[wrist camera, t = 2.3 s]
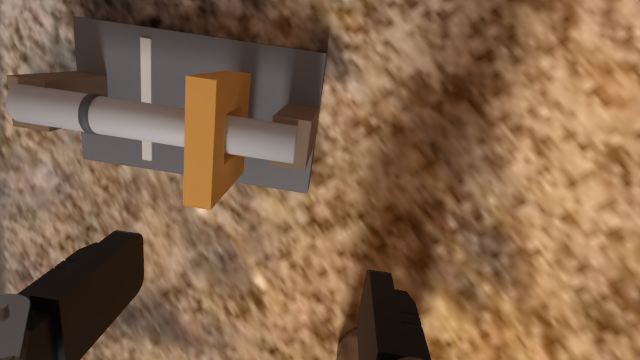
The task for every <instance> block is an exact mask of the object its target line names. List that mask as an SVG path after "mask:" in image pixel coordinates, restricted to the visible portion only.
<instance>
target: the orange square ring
mask: <svg viewBox="0 0 640 360" xmlns="http://www.w3.org/2000/svg"><path fill="white" fill-rule="evenodd" d="M250 82H251V73H244V72H237V71H231V70H226V71H218V72H210V73H203V74H195V75H187V76H186V83H185V132H184V180H183V206H189V207H196V208H202V209H208V210H211V209H212V208H213V207H214V205H215V204H216V203H217V202H218V201H219V200H220V199H221V197H222V196H223V195H224V194H225V193H226V192H227V191H228V189H229V188H230V187H231V186H232V185H233V184H234V183H235V181H236V180H237V179H238V178H239V177H240V176H241V175H242V173H243V172H244V161H245V156H239V155H233V154H226V153H224V149H225V131H226V115H231V116H238V117H244V118H248V108H249V95H250Z"/></svg>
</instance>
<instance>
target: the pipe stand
mask: <svg viewBox="0 0 640 360" xmlns="http://www.w3.org/2000/svg"><path fill="white" fill-rule="evenodd" d="M73 21H74V35H75V49H76V63H77V71H72V72H55V73H39V74H22V75H7V81H8V89H9V92H8V94H7V97H6V108H7V111H8V113H9V115H10V116H11V117H12V120H13V126H17V127H23V128H30V129H36V130H43V131H53V130H57V129H61V128H63V129H70V130H76V131H81V134H82V148H83V159H88V160H94V161H101V162H107V163H114V164H120V165H127V166H133V167H140V168H146V169H152V170H159V171H165V172H172V173H178V174H184V132H185V83H186V76H187V75H195V74H203V73H210V72H218V71H226V70H231V71H237V72H244V73H251V82H250V95H249V108H248V118H244V117H238V116H231V115H226V131H225V149H224V153H226V154H233V155H239V156H245V161H244V172H243V173H242V175H241V176H240V177H239V178H238V179H237V180H236V181H235V182H236V183H243V184H249V185H256V186H262V187H269V188H275V189H282V190H288V191H295V192H301V193H307V192H308V189H309V183H310V176H311V169H312V161H313V154H314V147H315V140H316V132H317V125H318V118H319V111H320V103H321V96H322V89H323V82H324V74H325V67H326V60H327V53H320V52H314V51H307V50H300V49H293V48H286V47H280V46H273V45H266V44H259V43H252V42H246V41H239V40H232V39H225V38H218V37H212V36H205V35H198V34H191V33H185V32H178V31H171V30H164V29H157V28H151V27H144V26H137V25H130V24H123V23H117V22H110V21H103V20H96V19H89V18H82V17H75V16H73Z"/></svg>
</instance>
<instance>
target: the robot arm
mask: <svg viewBox="0 0 640 360" xmlns="http://www.w3.org/2000/svg"><path fill="white" fill-rule="evenodd" d="M143 279H144V254H143V237H142V235H141V234H139V233H132V232H126V231H119V230H116V231H114V232H112V233H111V234H110V235H108V236H107V237H106V238H104V239H103V240H102V241H100V242H99V243H93V244H91V245H88V246H86V247H83V248H81V249H79V250H77V251H76V252H74V253H73V254H72V255H70V256H69V257H68V258H66V260H65V261H62V262H61V263H59V264H58V265H57V266H55V269H53V268H52V269H51V270H50V271H48V272H47V273H46V274H44V275H43V276H41V277H40V278H39V279H37V280H36V281H35V282H33V283H32V284H31V285H29V286H28V287H26V288H25V289H24V290H22V291H21V292H20V293H18V294H1V295H0V360H80V359H81V358H82V357H83V356H84V355H85V353H86V352H87V351H88V350H89V349H90V348H91V347H92V345H93V344H94V343H95V342H96V341H97V340H98V338H99V337H100V336H101V335H102V334H103V333H104V332H105V330H106V329H107V328H108V327H109V326H110V325H111V324H112V322H113V321H114V320H115V319H116V318H117V317H118V316H119V314H120V313H121V312H122V311H123V310H124V309H125V308H126V306H127V305H128V304H129V303H130V302H131V301H132V299H133V298H134V297H135V296H136V295H137V294H138V292H139V290H140V288H141V286H142V283H143ZM418 315H419V314H418V311H417V307H416V303H415V302H414V300H413V299H412V298H411V297H410V296H409V294H408V293H407V292H406V291H401V290H395V289H394V284H393V280H392V275H391V273H388V272H381V271H375V270H368V271H367V274H366V278H365V283H364V288H363V293H362V298H361V303H360V308H359V313H358V323H357V328H355V329H353V330H352V331H350V332H348V333H347V334H346V335H345V336H344V337H343V338H342V340H341V341H340V343H339V346H338V349H337V360H431V358H430V354H429V350H428V347H427V343H426V340H425V336H424V332H423V329H422V327H421V321H420V318H419V317H418Z"/></svg>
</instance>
